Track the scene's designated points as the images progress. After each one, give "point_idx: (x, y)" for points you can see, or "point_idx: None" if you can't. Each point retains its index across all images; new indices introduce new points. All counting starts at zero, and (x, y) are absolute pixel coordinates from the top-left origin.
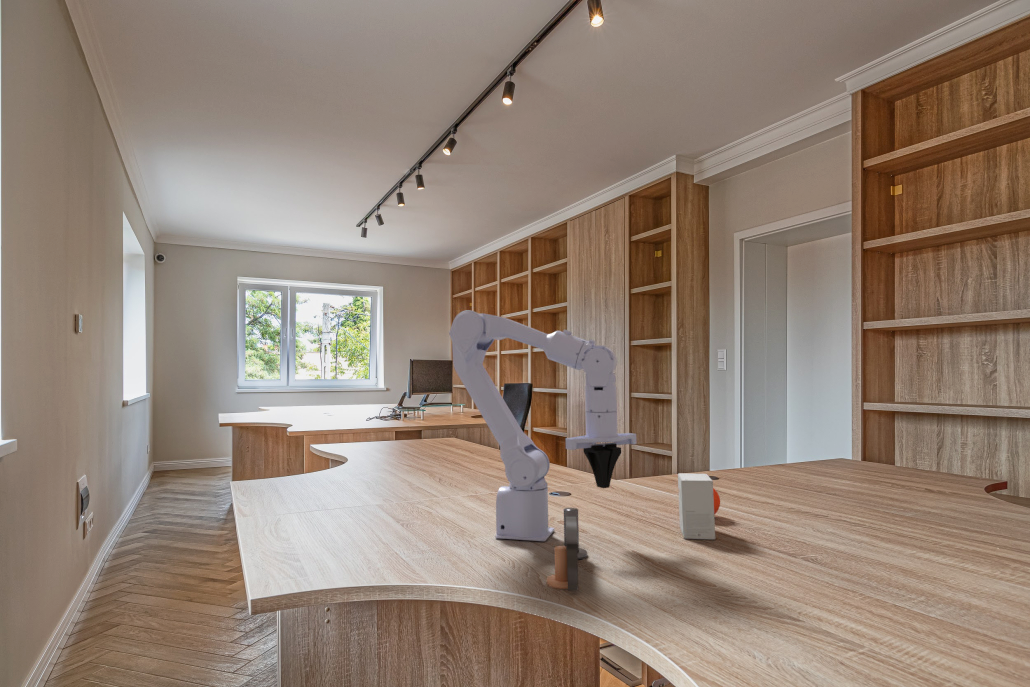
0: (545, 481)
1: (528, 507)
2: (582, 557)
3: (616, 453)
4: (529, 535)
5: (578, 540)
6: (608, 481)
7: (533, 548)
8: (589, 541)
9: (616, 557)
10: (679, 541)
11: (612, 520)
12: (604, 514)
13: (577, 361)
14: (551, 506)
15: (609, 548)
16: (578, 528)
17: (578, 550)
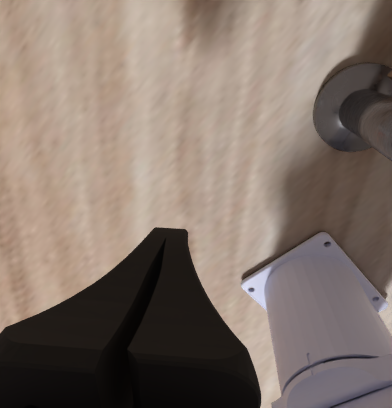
0: (291, 399)
1: (373, 318)
2: (362, 63)
3: (60, 331)
4: (343, 264)
5: (366, 98)
6: (159, 238)
7: (378, 209)
8: (228, 178)
9: (272, 16)
10: (8, 33)
11: (72, 272)
12: None
13: None
14: None
15: (228, 100)
16: (379, 108)
17: (356, 92)
